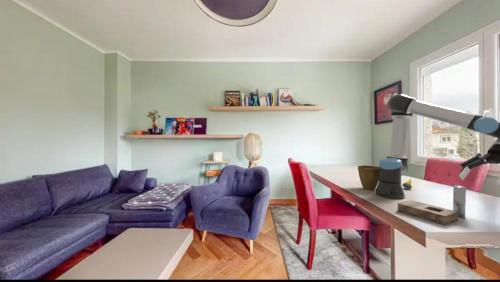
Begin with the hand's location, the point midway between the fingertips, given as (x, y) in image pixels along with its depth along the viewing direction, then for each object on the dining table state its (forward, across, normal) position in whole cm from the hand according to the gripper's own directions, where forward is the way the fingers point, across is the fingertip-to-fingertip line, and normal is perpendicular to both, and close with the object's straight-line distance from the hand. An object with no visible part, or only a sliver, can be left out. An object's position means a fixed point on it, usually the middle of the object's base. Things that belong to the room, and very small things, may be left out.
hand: (478, 180), depth 94 cm
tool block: (+29, +4, +6) cm, 30 cm away
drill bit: (+2, +47, -21) cm, 52 cm away
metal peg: (+19, 0, -4) cm, 20 cm away
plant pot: (+22, +50, -1) cm, 55 cm away
